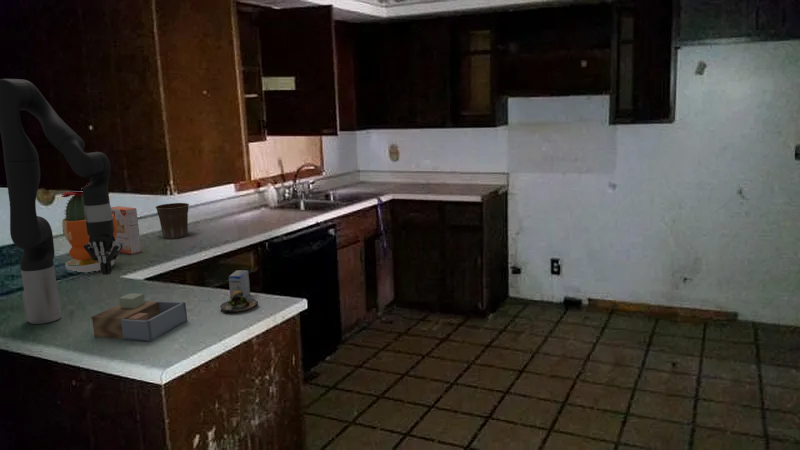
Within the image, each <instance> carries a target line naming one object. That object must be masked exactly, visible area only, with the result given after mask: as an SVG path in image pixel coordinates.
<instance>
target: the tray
mask: <svg viewBox="0 0 800 450" xmlns="http://www.w3.org/2000/svg"><path fill="white" fill-rule="evenodd" d="M158 302H159V310H160V314H159V315H157V316H155V317H153V318H151V319H149V320H147V321H145V320H131V319H122V320H121V326H122V333H123V341H130V342H131V341H132V342H143V343H146V342H147V343H151V342H152V341H154V340H156V339H158V338H160V337H161V336H163V335H165V334H167V333H169V332H170V331H172V330H174V329H176V328H177V327H179V326H181V325H183V324H184V323H185V324H186V322H188V314H187V313H188V312H187V305H186V302H185V301H168V300H166V301H164V300H160V301H158Z"/></svg>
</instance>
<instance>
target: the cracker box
mask: <svg viewBox="0 0 800 450" xmlns="http://www.w3.org/2000/svg"><path fill="white" fill-rule="evenodd" d="M111 209H112V214H114V216H115V218H116V222H117V235H116V238H115V242H117V243H118V244H122V246H123V247H122V249H121V251H120V252H119V253H121V254H128V255H133V254H138V253H142V252H143V251H142V244H141V234H140V229H139V220H138V219H139V218H138V212H137V208H135V207H128V206H119V205H117V206H111Z"/></svg>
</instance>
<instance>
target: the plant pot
mask: <svg viewBox="0 0 800 450" xmlns="http://www.w3.org/2000/svg"><path fill="white" fill-rule="evenodd" d="M189 206H190V204H189V203H186V202H174V203H173V202H171V203H164V204H159V205H157V206H155V209H156V212H157V216H158V218H159V222H160V227H161V232H162V237H163V239H168V240H170V239H171V240H172V239H174V240H176V239H180V238H185V237H187V236H189V229H188V227H189V226H188V225H189V221H188V220H189V219H188V218H189V217H188V213H189Z"/></svg>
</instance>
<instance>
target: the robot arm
mask: <svg viewBox="0 0 800 450" xmlns="http://www.w3.org/2000/svg"><path fill="white" fill-rule="evenodd" d="M20 111H27V112H29V113H30V114H31V115H33V116H34V117H35V118H36V119H37V120H38V121H39V123H40V125H41V127H42V131H43V134H44V135H45V137H46V140H48V141H49V143H51V144H52V145H53V147H54V148H56V150H57V151H58V152H60V153H61V154H62V155H63V157H64V158H65V160H66V162H67V164H68V165H69V167H70V168H71V170H72V171H73V172H74V173H75V174H76V175H78V176H80V177H82V178H89V182H88V183H87V184H88V185H87V184H86V185H84V186H83V187H82V189H83V199H84V207H85V220H86V227H87V234H88V235H89V236H90V238H89V243H88V244H86V245H84V248H85V250H86V251H87V252H88V254H89V255H90V256H91V257H92V259H93V260H94V261H98V262H99V263H100V268H101V270H100V272H101V274H102V275H103V276H104V275H105V276H108V275H110V274H111V273H112V271H113V269H112V266H111V261H112V260H114V261H115V260H117V257H119V254H120V253H121V252H120V251H121V249H122V247H123V246H122V244H118V243H117V242H115V238H114V236H113V234H114V223H113V216H112V209H111V207H112V206H111V204H110V202H111V201H110V194H109V185H110V176H111V163H110V160H109V158H108V156H107V155H106V154H105V153H103V152H101V151H93V152H85V151H84V149H85V147H86V144H85V141H84V140H83V138H81V136H79V135H78V134H77V132H75V131H74V130H73V129H72V128H71V127H70V126H69V125H68V124H67V123H65V122H64V120H63V119H62V118H61V116H59V114H58V113H57V112H56V111H55V110H54V108H53V107H52V105H51V104H50V102H48V101H47V100H46V98H45V96H44V95H43V93H42V92H41V91H40V89H38V87H37V86H36V85H34V83H33V82H31V81H30V80H27V79H21V78H0V138H1V144H2V145H1V146H2V150H3V163H4V169H5V170H4V171H5V176H6V177H5V178H6V184H7V195H8V200H9V231H10V232H9V233H10V238H11V240H12V243H13V244H14V245H15V247H17V248H19V249H21V250H23V254H22V256H21V259H20V261H19V266H20V267H19V268H20V273H21V279H22V287H23V292H22V294H21V295H22V302H23V307H24V313H25V320H26V322H28V323H29V324H32V325H42V324H47V323H52V322H55V321H57V320H59V319H61V318H62V311H61V306H60V305H61V303H60V296H59V292H58V285H57V278H56V272H55V263H54V258H55V246H54V245H55V241H54V236H53V229H52V226H51V224H50V223H49V221H48V220H47V219H46V218H44V217H42V216H38V214H37V209H36V208H37V207H36V203H37V197H38V196H37V195H38V191H39V186H40V181H41V167H40V166H41V165H40V157H39V153H38V151H37V149H36V147H35V145H34V144H33V142H32V140H31V139H30V138H29V137H28V135H27V134H26V132H25V129H24V127H23V124H22V120H21V119H22V118H21V113H20ZM95 255H96V256H95Z"/></svg>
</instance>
